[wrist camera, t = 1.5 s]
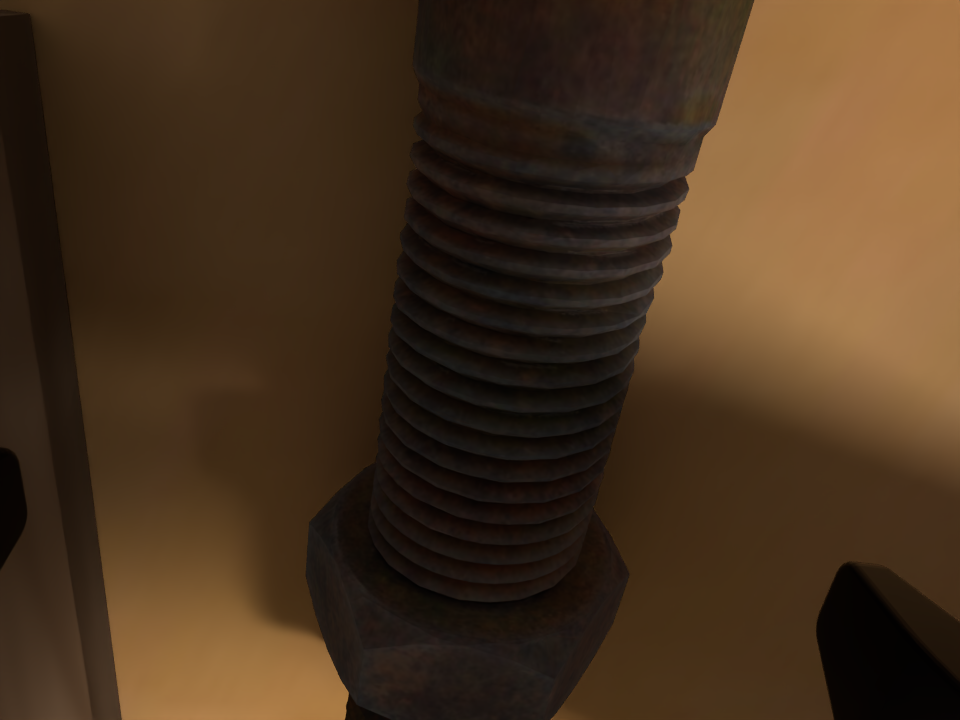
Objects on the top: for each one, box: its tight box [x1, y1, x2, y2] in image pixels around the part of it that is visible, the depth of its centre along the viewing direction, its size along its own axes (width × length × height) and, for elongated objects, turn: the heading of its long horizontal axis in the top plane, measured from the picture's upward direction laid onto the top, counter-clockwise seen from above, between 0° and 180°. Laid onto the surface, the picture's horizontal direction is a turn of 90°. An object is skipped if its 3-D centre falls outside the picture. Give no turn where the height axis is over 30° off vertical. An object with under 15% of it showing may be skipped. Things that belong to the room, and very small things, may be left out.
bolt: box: [306, 0, 754, 720], centre depth 11 cm, size 6×5×15 cm
